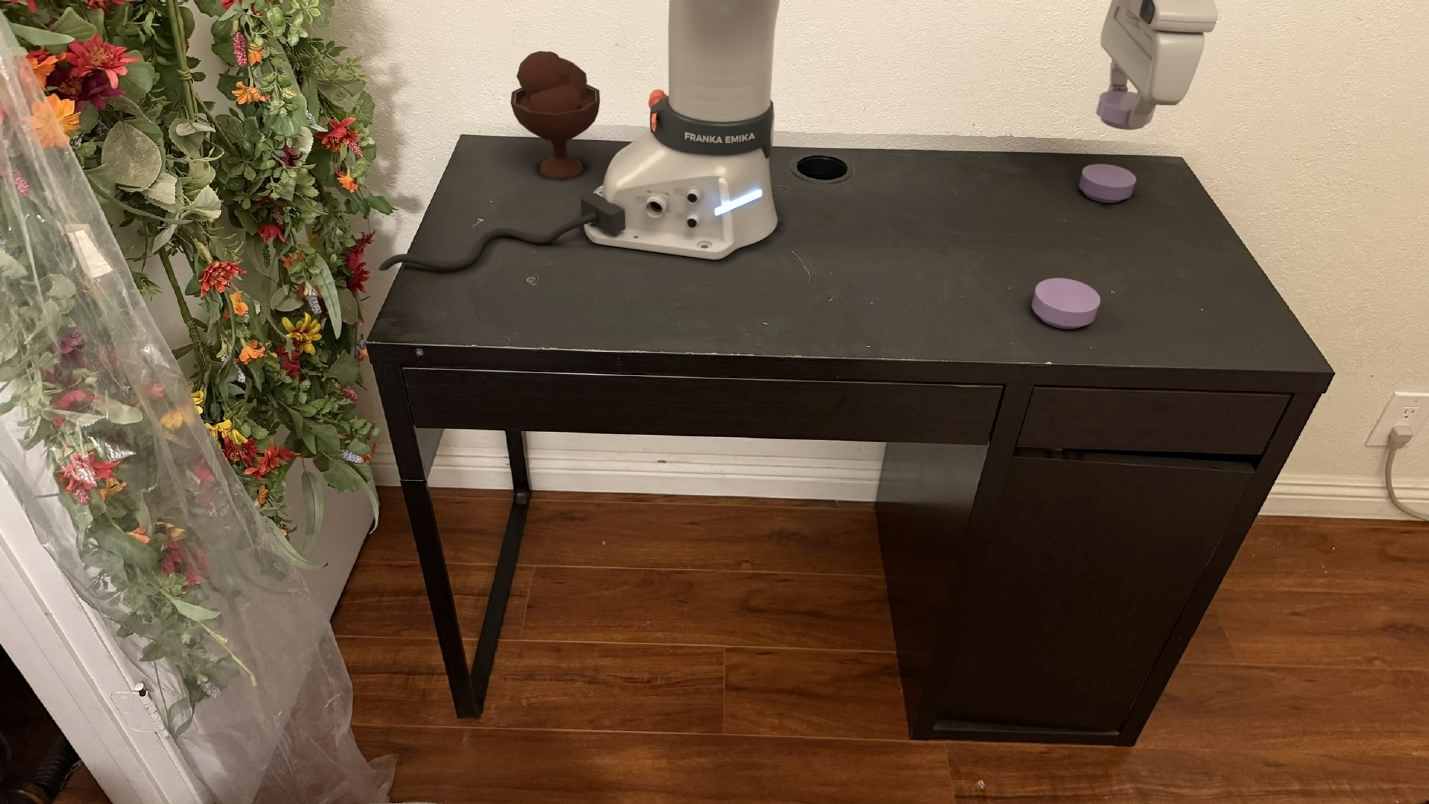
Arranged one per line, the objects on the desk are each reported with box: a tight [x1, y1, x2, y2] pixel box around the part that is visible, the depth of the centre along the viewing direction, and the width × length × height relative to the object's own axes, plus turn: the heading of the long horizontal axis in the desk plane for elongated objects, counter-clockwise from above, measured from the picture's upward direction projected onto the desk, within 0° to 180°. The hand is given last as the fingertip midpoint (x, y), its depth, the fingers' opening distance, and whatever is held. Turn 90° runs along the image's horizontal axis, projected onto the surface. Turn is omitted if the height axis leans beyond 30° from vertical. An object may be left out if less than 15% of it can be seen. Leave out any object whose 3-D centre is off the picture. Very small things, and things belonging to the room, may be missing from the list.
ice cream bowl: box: [510, 50, 601, 179], centre depth 121 cm, size 11×11×15 cm
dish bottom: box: [1078, 163, 1137, 204], centre depth 123 cm, size 6×6×3 cm
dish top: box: [1095, 90, 1157, 131], centre depth 117 cm, size 6×6×3 cm
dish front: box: [1031, 277, 1101, 330], centre depth 101 cm, size 6×6×3 cm
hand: (1124, 112), depth 117 cm, fingers closed on dish top, 6 cm apart
